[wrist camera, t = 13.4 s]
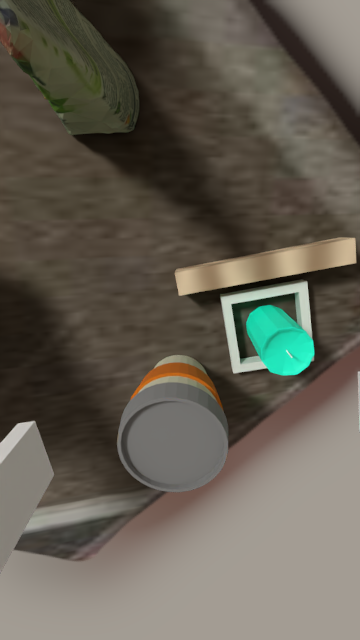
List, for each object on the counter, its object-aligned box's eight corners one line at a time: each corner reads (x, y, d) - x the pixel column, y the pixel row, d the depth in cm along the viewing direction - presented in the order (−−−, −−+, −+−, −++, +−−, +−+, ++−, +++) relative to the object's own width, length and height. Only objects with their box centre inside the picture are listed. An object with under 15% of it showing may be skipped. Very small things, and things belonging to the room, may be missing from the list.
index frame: (231, 367, 46) (233, 373, 44) (219, 294, 43) (220, 297, 42) (309, 355, 45) (314, 360, 43) (302, 279, 42) (307, 281, 40)
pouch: (130, 162, 39) (29, 52, 15) (39, 136, 39) (-211, -18, 15) (151, 61, 36) (64, -274, 12) (51, 32, 36) (-237, -370, 12)
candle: (248, 302, 44) (267, 328, 32) (291, 306, 43) (326, 333, 32) (243, 342, 45) (259, 380, 34) (284, 346, 45) (314, 385, 34)
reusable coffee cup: (183, 327, 45) (177, 371, 31) (236, 386, 47) (255, 454, 33) (121, 377, 48) (90, 439, 33) (175, 431, 50) (167, 512, 36)
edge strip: (180, 290, 44) (179, 295, 40) (176, 269, 43) (174, 272, 39) (341, 260, 41) (356, 263, 38) (340, 237, 41) (355, 237, 37)
